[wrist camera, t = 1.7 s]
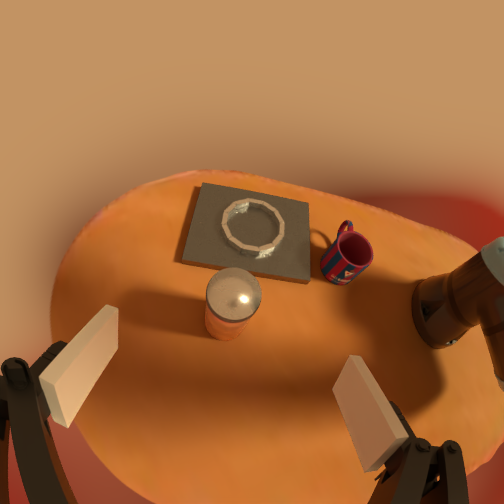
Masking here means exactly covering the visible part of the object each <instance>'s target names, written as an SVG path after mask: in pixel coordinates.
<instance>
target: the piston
mask: <svg viewBox="0 0 504 504" xmlns="http://www.w3.org/2000/svg"><path fill="white" fill-rule="evenodd" d="M260 302H261V288H260V285H259V283H258V281H257V279H256V278H255V277H254V276H253V275H252V274H251V273H249V272H248V271H246V270H243V269H240V268H226V269H223V270H220V271H219V272H217V273H216V274H215V275H214V276H213V277H212V278H211V280H210V281H209V283H208V286H207V289H206V312H205V326H206V329H207V331H208V333H209V334H210V335H211V336H212V337H214V338H216V339H218V340H222V341H228V340H232V339H234V338H236V337H237V336H238V335H239V334H240V333H241V331H242V330H243V328H244V327H245V325H246V324H247V322H248V321H249V319H250V318H251V317H252V316H253V315H254V313H255V312H256V310H257V309H258V307H259V305H260Z"/></svg>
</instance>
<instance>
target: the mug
mask: <svg viewBox="0 0 504 504" xmlns="http://www.w3.org/2000/svg"><path fill="white" fill-rule="evenodd" d="M347 225H348V230H347V231H344V229H345V227H346V226H347ZM372 260H373V250H372V247H371V245H370V243H369V242H368V240H367V239H366V238H365V237H364V236H363V235H361V234H360V233H357V232H355V231H353V224H352V222H351V221H349V220H345V221H344V222H343V223H342V224H341V226H340V228H339V230H338V233H337V239H336V240H335V241H334V243H333V244H332V245H331V246H330V248H329V249H328V250H327V251H326V253H325V254H324V255H323V256H322V258H321V262H320V266H321V270H322V273H323V274H324V276H325V277H326V278H327V279H328V280H329V281H330V282H332V283H334V284H336V285H345V284H348V283H349V282H350V281H352V280H353V279H354V278H355V277H356V276H357V275H359V274H360V273H361V272H362V271H363V270H364V269H365V268H366V267H368V266H369V265H370V264H371V262H372Z"/></svg>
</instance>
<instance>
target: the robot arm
mask: <svg viewBox="0 0 504 504" xmlns="http://www.w3.org/2000/svg"><path fill="white" fill-rule="evenodd" d="M412 313H413V318H414V322H415V325H416V328H417V330H418V332H419V334H420V335H421V337H422V338H423V340H424V341H425V342H426V343H427V344H429V345H430V346H432V347H434V348H437V349H442V348H445V347H448V346H451V345H453V344H454V343H456V342H457V341H458V340H459V339H460V338H461V337H462V336H463V335H464V334H465V333H466V332H467V331H468V330H469V329H470V328H472V327H474V326H476V325H478V324H480V325H481V328H482V331H483V334H484V337H485V340H486V343H487V346H488V349H489V353H490V356H491V359H492V363H493V367H494V374H495V376H496V378H497V380H498V383H499V386H500V388H501V389H502V390H503V391H504V237H499V238H497V239H495V240H494V241H493V242H491V243H490V244H488V245H485V246H484V247H483V248H482V250H481V251H480V252H479V253H477V254H476V255H475V256H473V257H472V258H470V259H469V260H468V261H466V262H465V263H463V264H462V265H461V266H459V267H458V268H456V269H455V270H454V271H452V272H451V273H447V274H442V275H437V276H432V277H429V278H427V279H426V280H424V281H423V282H421V283H420V284H419V285H418V286H417V287H416V289H415V291H414V294H413V298H412ZM117 349H118V308H116V307H113V306H110V305H107V304H106V305H105V306H104V307H103V308H102V309H101V310H100V311H99V312H98V313H97V314H96V315H95V316H94V317H93V318H92V319H91V320H90V321H89V322H88V323H87V324H86V325H85V326H84V327H83V328H82V330H81V331H80V332H79V333H78V334H77V335H76V336H75V337H74V338H73V339H72V340H71V341H70V342H69V343H68V344H67V343H65V342H63V341H59V342H56V343H54V344H52V345H51V346H50V347H49V348H48V349H47V350H46V352H44V353H43V354H42V356H41V357H39V358H38V360H37V361H36V362H35V363H34V364H33V365H32V366H31V367H30V368H29V366H28V364H27V363H26V361H25V360H23V359H21V358H16V357H13V358H9V359H7V360H5V361H4V362H3V363H2V365H1V371H2V374H3V376H1V375H0V504H10V503H9V491H8V446H9V445H8V444H9V431H10V428H11V434H12V440H13V445H14V450H15V455H16V459H17V463H18V467H19V471H20V475H21V478H22V482H23V485H24V488H25V491H26V494H27V497H28V500H29V503H30V504H78V503H77V501H76V499H75V496H74V494H73V492H72V490H71V487H70V485H69V483H68V480H67V478H66V475H65V473H64V470H63V467H62V465H61V462H60V459H59V456H58V454H57V451H56V447H55V444H54V441H53V437H52V434H51V430H50V427H49V423H48V421H47V418H48V416H49V415H50V413H51V415H52V418H53V420H54V421H55V422H57V423H59V424H61V425H63V426H65V427H67V428H69V426H70V424H71V422H72V421H73V419H74V417H75V416H76V414H77V412H78V411H79V409H80V407H81V406H82V404H83V402H84V401H85V399H86V397H87V396H88V394H89V393H90V391H91V389H92V388H93V386H94V385H95V383H96V381H97V380H98V378H99V377H100V375H101V374H102V372H103V370H104V369H105V367H106V366H107V364H108V363H109V361H110V360H111V358H112V357H113V355H114V354H115V352H116V351H117ZM332 390H333V393H334V395H335V398H336V400H337V403H338V405H339V408H340V410H341V413H342V415H343V418H344V421H345V423H346V426H347V428H348V431H349V433H350V436H351V438H352V441H353V444H354V446H355V449H356V451H357V454H358V457H359V459H360V462H361V465H362V467H363V470H364V473H365V472H371V471H376V470H378V469H379V468H380V467H381V466H382V465H383V464H384V465H385V467H386V469H385V470H384V471H383V472H381V473H380V474H379V475H378V476H377V477H376V478H375V481H376V480H377V479H378V478H380V479H379V481H378V483H377V485H376V488H375V490H374V492H373V494H372V496H371V498H370V500H369V502H368V504H469V499H468V498H469V497H468V488H467V480H466V473H465V467H464V461H463V456H462V450H461V448H460V446H459V444H458V443H457V442H455V441H452V440H447V441H445V442H444V443H443V444H442V446H441V447H437V446H431V444H430V443H429V442H428V441H427V440H425V439H423V438H416V436H415V434H414V433H413V431H412V429H411V428H410V426H409V424H408V423H407V421H406V420H405V418H404V416H403V415H402V413H401V411H400V409H399V408H398V406H396V405H395V404H394V403H393V402H392V401H388V400H387V398H386V396H385V395H384V393H383V392H382V390H381V388H380V387H379V385H378V383H377V382H376V380H375V378H374V377H373V375H372V374H371V372H370V370H369V369H368V367H367V365H366V364H365V362H364V361H363V359H362V357H361V356H356V355H349V357H348V359H347V361H346V363H345V365H344V367H343V369H342V371H341V373H340V375H339V377H338V379H337V381H336V383H335V385H334V386H333V388H332ZM439 475H440V480H439V481H437V477H438V476H439Z"/></svg>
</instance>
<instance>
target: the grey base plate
mask: <svg viewBox="0 0 504 504" xmlns="http://www.w3.org/2000/svg"><path fill="white" fill-rule="evenodd" d="M182 264H187V265H192V266H198V267H203V268H209V269H215V270H223V269H226V268H240V269H243V270H246V271H248V272H249V273H251V274H252V275H253V276H257V277H263V278H269V279H275V280H282V281H288V282H295V283H301V284H308V283H309V282H310V231H309V205H308V203H306V202H301V201H297V200H292V199H288V198H283V197H278V196H273V195H269V194H264V193H259V192H253V191H248V190H243V189H237V188H232V187H226V186H221V185H215V184H209V183H202V186H201V190H200V193H199V197H198V200H197V204H196V207H195V211H194V214H193V218H192V222H191V225H190V229H189V233H188V237H187V241H186V245H185V249H184V253H183V257H182Z"/></svg>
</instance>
